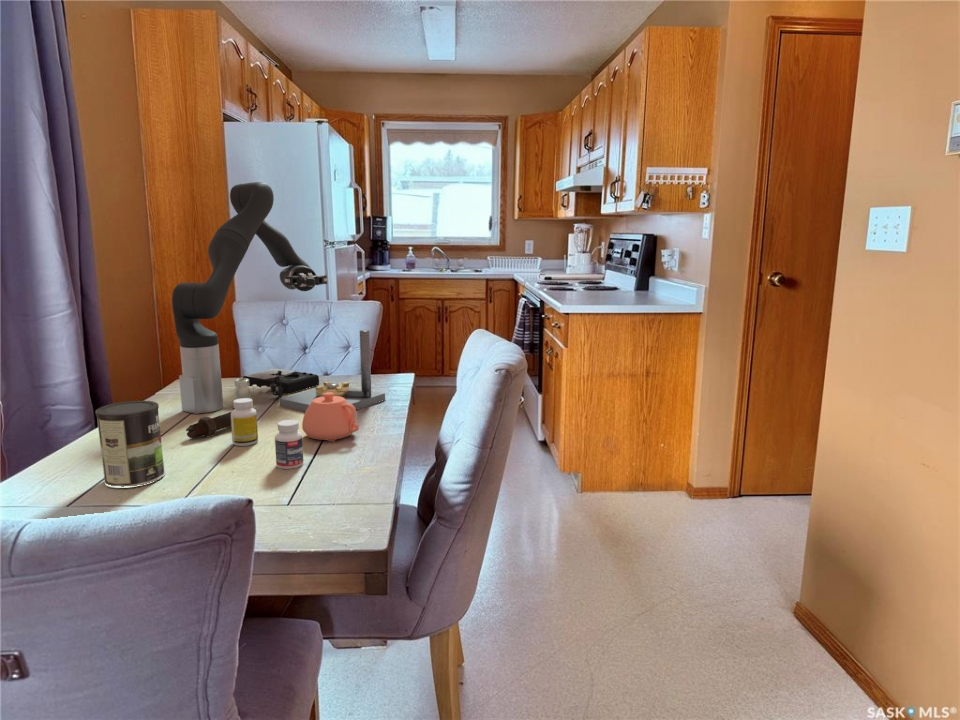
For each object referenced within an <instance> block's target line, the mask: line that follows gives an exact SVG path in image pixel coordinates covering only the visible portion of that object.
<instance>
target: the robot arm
mask: <svg viewBox="0 0 960 720" xmlns="http://www.w3.org/2000/svg"><path fill="white" fill-rule="evenodd" d="M274 196H275V195H274V191H273V188H272V187H271V186H270V185H269V184H268V183H266V182H262V181H255V182H246V183H239V184H235V185H233V186H232V188H230V192H229V198H230V204H231V206H232V207H233V209H234V211H235V212H236V213H237V214H235V215H234V216H233V217H231V218H230V219H228V220H227V221H226V222H224V223H223V224H222V225H221V226H220V227H219V228H218V229H217V231H215V233H214V235H213V237H212V239H211V240H210V243H209V244H208V248H207V253H208V258H209V260H210V262H209V263H210V265H211V267H212V273H211V275H210V276H209V278H208V280H206V281H205V282H180V283H178V284H177V285H176V286H175V287H174V288H173V291H172V294H171V305H172V306H171V307H172V313H173V320H174V326H175V327H174V328H175V333H176V336H177V338H178V340H179V341H178V342H179V349H180V361H181V362H180V363H181V373H182V374H180V375H179V376H178V379H179V389H180V390H179V391H180V401H181V411H183V412H187V413H190V414H194V415H198V414H204V413H205V414H206V413H212V412H217V411H219V410H222V409H223V408H224V398H223V397H224V396H223V386H222V385H223V383H222V373H221V371H222V370H221V358H220V348H219V347H220V346H219V344H220V343H219V336H218V334H217V332H216V331H213V330H210V329H209V328H207V327H205V326H204V325H203V324H202V323H201V321H200V320H211V319H214V318H217V316H219V314H220V312H221V311H222V309H223V306H224V304H225V301H226V298H227V296H228V292H229V289H230V287H231V284H232V281H233V280H234V278H235V275H236V273H237V272H238V271H237V270H238V269H239V267H240V266H241V263H242V261H243V260H244V257H245V256H246V254H247V251H248V250H249V247H250V245H251V243H252V241H253V239H254V237H255V236H257V237H258V239H260V241H261V242H262V243H263V245H265V248H266V250H268V252H269V254H270V255H271V257H272V258H273V260H274V262H275V263H276V265H277V266H278V267H281V268H283V269H282V270H281V271H280V273H279V279H280V280H279V281H280V282H281V284H282V285H283V286H284V287H285V288H286V289H288V290H298V291H301V292H308V291H311V290H313V289H314V288H315V286H321V285H326V284H328V276H327V275H326V274H324V275H317V274H316V272H315V271H314V270H313V269H312V268H311V267H310V265H309V264H308V263H307V262H305V260H304V259H302V258H301V257H300V256H299V255H298V254H297V253H296V251H295V250H294V248H293V245H292V244H291V243H290V240H289V239H288V238H287V237H286V236H285V234H283V233H282V232H281V231H280V230H279V229H278V228H276V227H275V226H273V225H271V223H269V221H266V220H265V219H266V218H267V217H268V216H269V214H270V212H271V210H272V209H273V206H274V200H275V199H274Z"/></svg>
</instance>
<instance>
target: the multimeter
mask: <svg viewBox="0 0 960 720" xmlns="http://www.w3.org/2000/svg"><path fill="white" fill-rule="evenodd" d="M276 376H279V377H280V380H281V388H282V392H281V394H285V395H290V394H293V392H294V393H297V392H301V391H304V390H307V389H306V388H308V389H310V388H309V387H311V388H313V387H312V386H315V387H317V386H316V385H318V386H320V378H319V377H320V376H319V375H318V374H316V373H315V374H314V373H311V372H310V373H307V372H302V371H295V370H288V369H283V368H282V369H281V368H276V367H275V368H271V369H266V370H262V371H257V372H254V373H250V374H246V375H243V376H242V378H247V379H249V382H250V385H249V386H252V385H257V387H258V386H259V388H260V387H261V386H267V387H270V385H271V384H272V383H273V382H276V381H274V378H275V377H276ZM303 389H304V390H303ZM300 390H301V391H300ZM296 391H297V392H296ZM268 392H271V391H270V390H269V391H268ZM289 393H290V394H289Z"/></svg>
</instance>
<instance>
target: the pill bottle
mask: <svg viewBox="0 0 960 720" xmlns="http://www.w3.org/2000/svg"><path fill="white" fill-rule="evenodd" d="M299 425H300V424H299V421H298V420H296V419H285V420H280V421H278V422H277V431H278V432H277V433H276V434H275V436H274V445H275V462H276V463H275V464H276V467H277V468H279V469H283V470H290V469H292V468H293V469H297V468H300V467H302V466H303V464H304V446H303V445H304V443H303V434H302V432H301V431H299V428H300V427H299Z"/></svg>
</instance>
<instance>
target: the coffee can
mask: <svg viewBox="0 0 960 720" xmlns="http://www.w3.org/2000/svg"><path fill="white" fill-rule="evenodd" d="M159 407H160V406H159V403H158V402H156V401H152V400H151V401H150V400H128V401H122V402H116V403H110V404H107V405H103V406H101V407H98V408H97V409H96V410H95V416H96V419H97V429H98V436H99V437H98V439H99V444H100V453H101V462H102V468H103V477H104V482H105V483H106V484H108V485H111V486H121V487H124V486H137V485H144V484H147V483H150V482H153V481H156V480H158V479H160V478H161V477H163V475H164V474H166V472H165V467H164V466H165V465H164V455H163V445H162V435H161V423H160V415H159ZM163 478H164V477H163ZM160 480H161V479H160Z"/></svg>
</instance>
